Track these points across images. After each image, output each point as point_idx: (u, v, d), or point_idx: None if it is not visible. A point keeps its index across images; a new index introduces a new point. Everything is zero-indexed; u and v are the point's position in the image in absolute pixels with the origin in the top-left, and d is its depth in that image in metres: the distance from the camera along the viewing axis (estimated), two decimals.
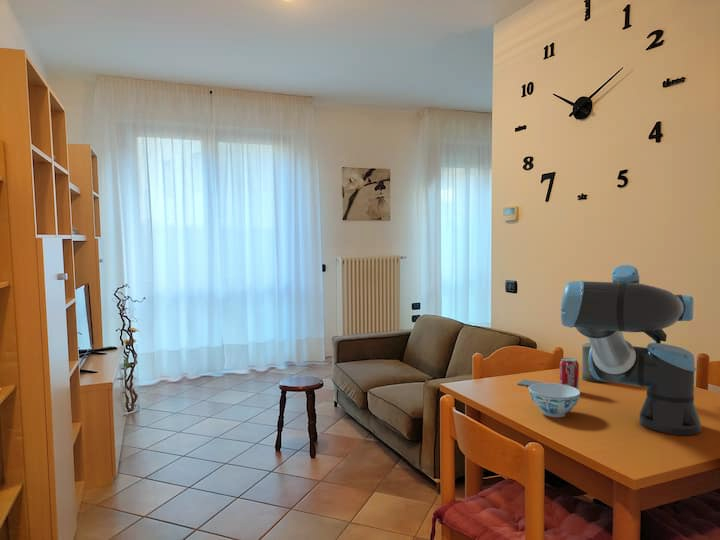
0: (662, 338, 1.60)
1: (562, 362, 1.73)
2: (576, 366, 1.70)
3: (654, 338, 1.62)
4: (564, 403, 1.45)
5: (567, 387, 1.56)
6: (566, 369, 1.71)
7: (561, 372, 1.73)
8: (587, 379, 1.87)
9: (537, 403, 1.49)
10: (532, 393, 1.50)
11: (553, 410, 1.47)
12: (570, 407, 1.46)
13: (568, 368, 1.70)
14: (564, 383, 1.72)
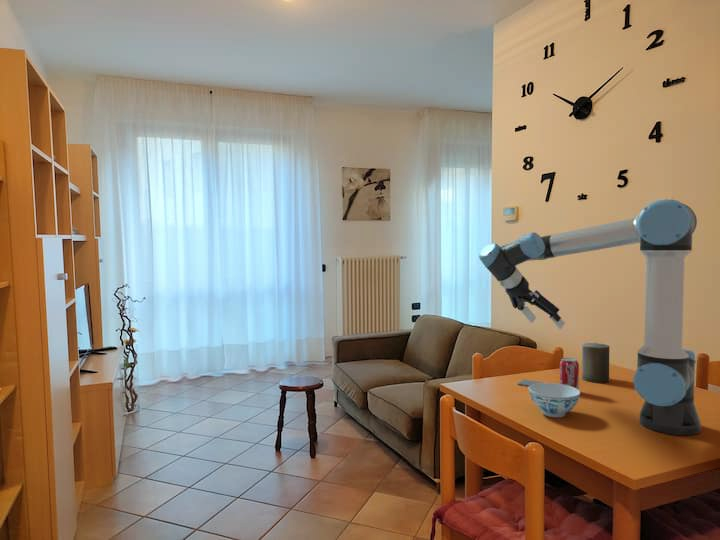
0: None
1: (562, 362, 1.73)
2: (576, 366, 1.70)
3: None
4: (564, 403, 1.45)
5: (567, 387, 1.55)
6: (566, 369, 1.71)
7: (561, 372, 1.73)
8: (587, 379, 1.87)
9: (537, 403, 1.49)
10: (532, 393, 1.50)
11: (553, 410, 1.47)
12: (570, 407, 1.46)
13: (568, 368, 1.70)
14: (564, 383, 1.72)
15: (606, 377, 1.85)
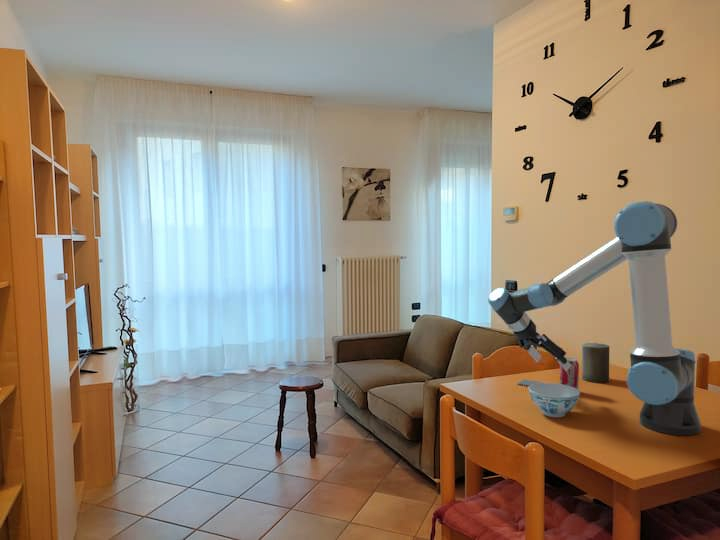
0: None
1: None
2: (576, 366, 1.70)
3: None
4: (564, 403, 1.45)
5: (567, 387, 1.56)
6: None
7: (561, 372, 1.73)
8: (587, 379, 1.87)
9: (537, 403, 1.49)
10: (532, 393, 1.50)
11: (553, 410, 1.47)
12: (570, 407, 1.46)
13: None
14: (564, 383, 1.72)
15: (606, 377, 1.85)
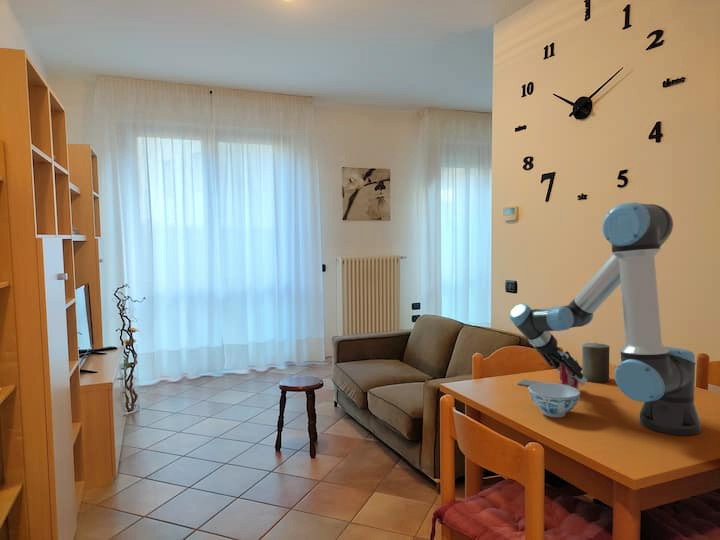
0: None
1: None
2: None
3: None
4: (564, 403, 1.45)
5: (567, 387, 1.55)
6: (566, 369, 1.71)
7: (561, 372, 1.73)
8: (587, 379, 1.87)
9: (537, 403, 1.49)
10: (532, 393, 1.50)
11: (553, 410, 1.47)
12: (570, 407, 1.46)
13: None
14: (564, 383, 1.72)
15: (606, 377, 1.85)
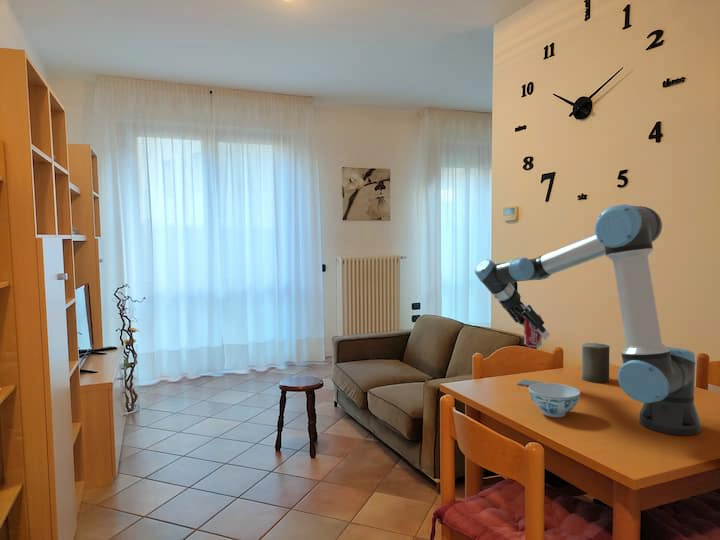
0: None
1: None
2: None
3: None
4: (564, 403, 1.45)
5: (567, 387, 1.55)
6: (530, 323, 1.79)
7: (525, 327, 1.81)
8: (587, 379, 1.87)
9: (537, 403, 1.49)
10: (532, 393, 1.50)
11: (553, 410, 1.47)
12: (570, 407, 1.46)
13: None
14: (528, 337, 1.80)
15: (606, 377, 1.85)
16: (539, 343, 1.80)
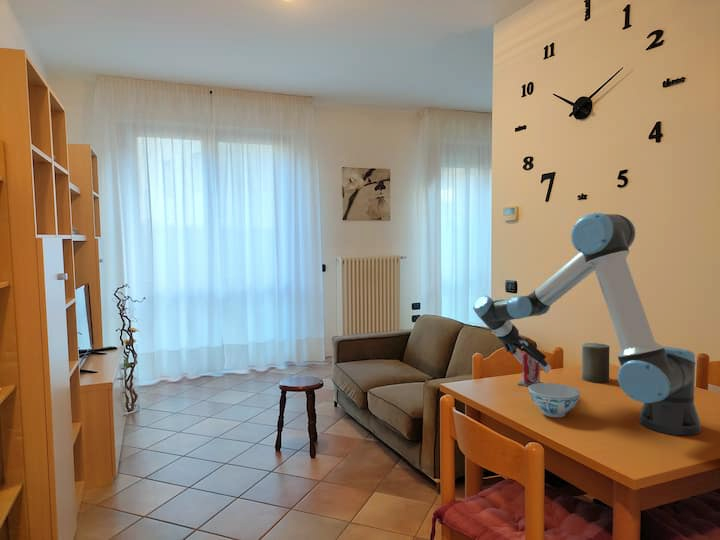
0: None
1: (524, 354, 1.82)
2: None
3: None
4: (564, 403, 1.45)
5: (567, 387, 1.55)
6: (528, 361, 1.80)
7: (523, 364, 1.82)
8: (587, 379, 1.87)
9: (537, 403, 1.49)
10: (532, 393, 1.50)
11: (553, 410, 1.47)
12: (570, 407, 1.46)
13: (530, 360, 1.80)
14: (526, 374, 1.81)
15: (606, 377, 1.85)
16: (537, 380, 1.81)
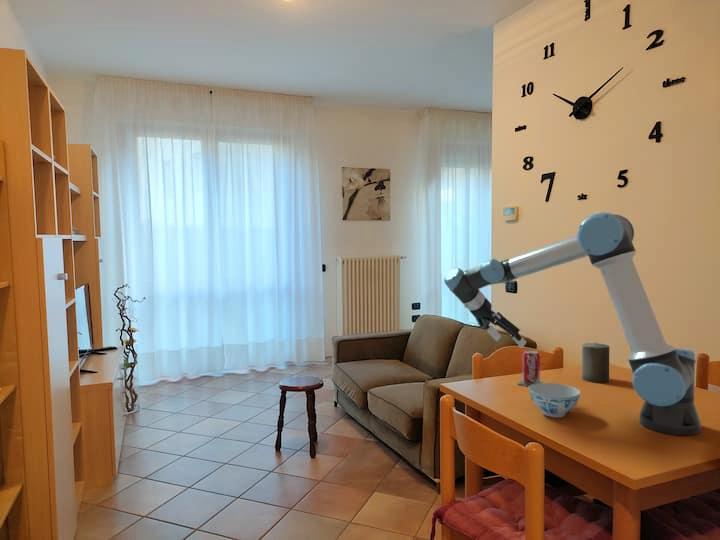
0: None
1: (524, 354, 1.82)
2: (537, 358, 1.80)
3: None
4: (564, 403, 1.45)
5: (567, 387, 1.56)
6: (527, 361, 1.81)
7: (523, 364, 1.83)
8: (587, 379, 1.87)
9: (537, 403, 1.49)
10: (532, 393, 1.50)
11: (553, 410, 1.47)
12: (570, 407, 1.46)
13: (530, 360, 1.80)
14: (526, 374, 1.81)
15: (606, 377, 1.85)
16: (537, 380, 1.81)
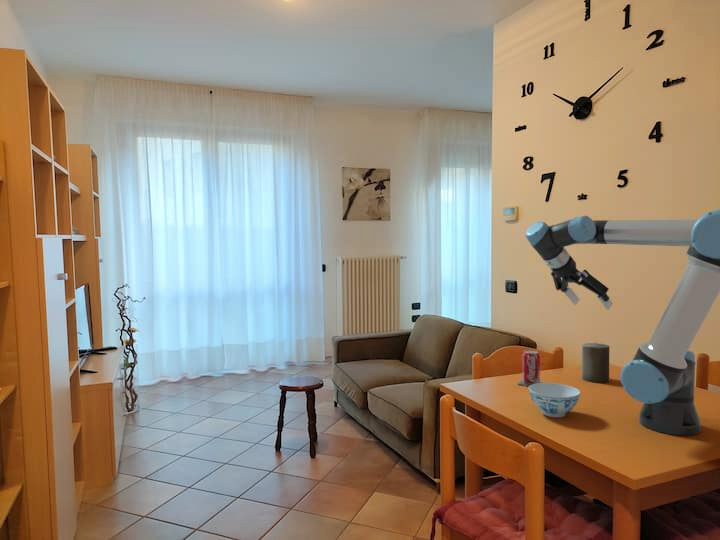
0: None
1: (524, 354, 1.82)
2: (537, 358, 1.80)
3: None
4: (564, 403, 1.45)
5: (567, 387, 1.56)
6: (528, 361, 1.81)
7: (523, 364, 1.83)
8: (587, 379, 1.87)
9: (537, 403, 1.49)
10: (532, 393, 1.50)
11: (553, 410, 1.47)
12: (570, 407, 1.46)
13: (530, 360, 1.80)
14: (526, 374, 1.81)
15: (606, 377, 1.85)
16: (537, 380, 1.81)
